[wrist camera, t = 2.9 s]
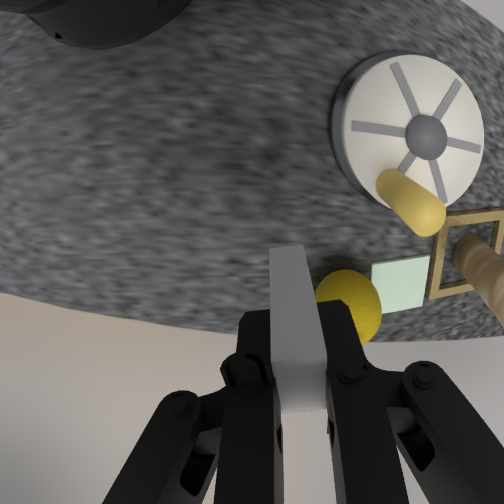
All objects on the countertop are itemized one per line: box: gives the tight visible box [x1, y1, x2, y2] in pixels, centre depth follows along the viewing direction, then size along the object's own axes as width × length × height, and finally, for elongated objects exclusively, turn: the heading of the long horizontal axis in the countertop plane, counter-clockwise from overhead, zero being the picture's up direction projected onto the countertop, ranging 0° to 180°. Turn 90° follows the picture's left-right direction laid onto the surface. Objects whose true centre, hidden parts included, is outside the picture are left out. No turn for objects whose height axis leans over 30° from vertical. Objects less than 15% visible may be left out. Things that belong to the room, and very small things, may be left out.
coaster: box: [370, 254, 430, 314], centre depth 27 cm, size 6×6×1 cm
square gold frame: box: [426, 207, 504, 300], centre depth 25 cm, size 9×9×1 cm
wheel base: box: [329, 51, 426, 210], centre depth 20 cm, size 13×13×1 cm
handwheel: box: [341, 55, 484, 237], centre depth 16 cm, size 12×12×8 cm
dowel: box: [452, 234, 504, 327], centre depth 19 cm, size 4×4×14 cm
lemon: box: [314, 269, 382, 345], centre depth 24 cm, size 6×6×8 cm
